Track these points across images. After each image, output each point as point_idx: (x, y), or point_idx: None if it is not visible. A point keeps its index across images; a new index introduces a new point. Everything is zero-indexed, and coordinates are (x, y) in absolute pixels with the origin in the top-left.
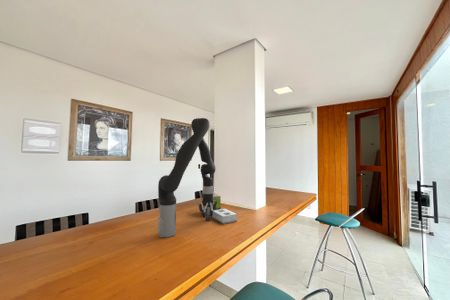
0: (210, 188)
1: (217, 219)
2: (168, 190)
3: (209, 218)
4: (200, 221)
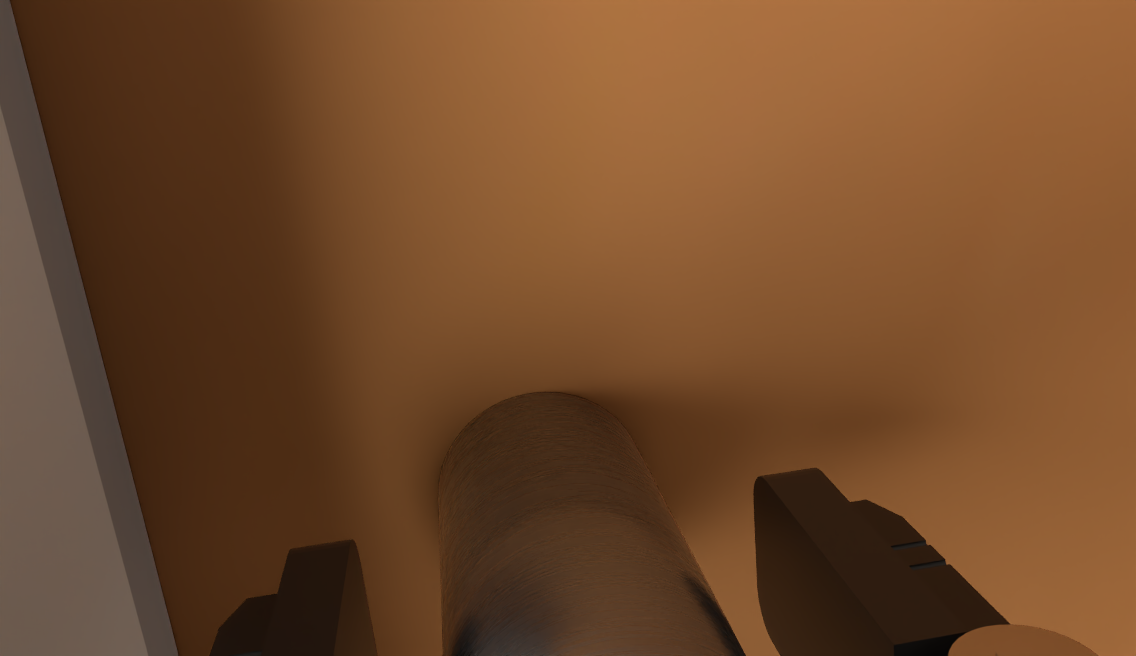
0: None
1: (46, 258)
2: None
3: (480, 461)
4: (880, 463)
